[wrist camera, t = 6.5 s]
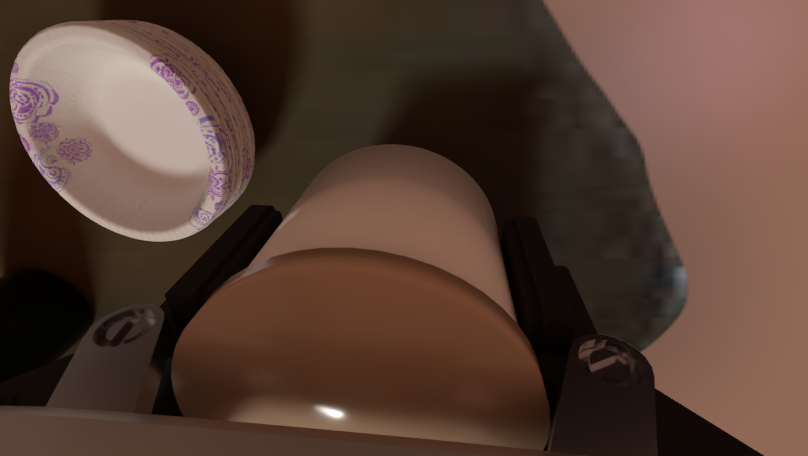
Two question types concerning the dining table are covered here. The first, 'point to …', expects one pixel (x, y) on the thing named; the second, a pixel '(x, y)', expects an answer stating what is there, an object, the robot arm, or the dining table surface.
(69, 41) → the paper bowls
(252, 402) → the sugar jar
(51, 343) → the dark wine bottle
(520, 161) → the dining table surface
